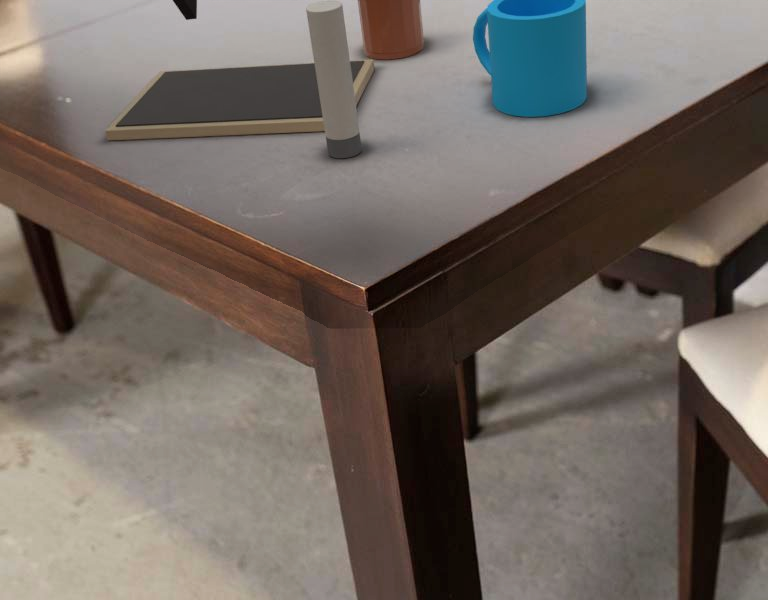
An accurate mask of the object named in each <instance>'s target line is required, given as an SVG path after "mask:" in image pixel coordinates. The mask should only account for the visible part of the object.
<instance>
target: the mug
mask: <svg viewBox="0 0 768 600" xmlns="http://www.w3.org/2000/svg"><path fill="white" fill-rule="evenodd" d="M472 30H473V31H472V42H473V46H474V51H475V54H476V56H477V58H478V60H479V63H480V64H481V66H482V67H483V68H484V70H485V71H486V72H487V74H488V75H489V76H490V81H491V96H492V97H491V98H492V99H491V100H492V105H493V107H494V109H496V110H497V111H499V112H501V113H502V114H505V115H510V116H513V117H514V116H515V117H524V118H540V117H549V116H554V115H560V114H564V113H567V112H569V111H570V112H571V111H572V110H575V109H577V108H579V107H580V106H582V105H583V104H584V103H585V102H586V100H587V99H588V88H587V87H588V79H587V78H588V75H587V73H588V72H587V71H588V69H587V67H588V66H587V65H588V64H587V0H492V1H491V2H489V3H488V4H487V7H486V8H485V9H483V11H482V12H481V13H480V14H479V15H478V16H477V18H476V21H475V23H474V25H473V29H472ZM486 32H487V35H488V44H487V39H486Z"/></svg>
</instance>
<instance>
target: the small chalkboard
mask: <svg viewBox="0 0 768 600" xmlns="http://www.w3.org/2000/svg"><path fill="white" fill-rule="evenodd" d="M350 65H351V73H352V80H353V87H354V95H355V102H356V106H358V103H359V101H360V99H361V97H362V95H363V93H364V91H365V89H366V87H367V85H368V83H369V81H370V79H371V77H372V75H373V74H374V71H375V67H376V66H375V59H374V58H371V59H359V60H358V59H357V60H356V59H355V60H354V59H353V60H350ZM315 132H325V129H324V122H323V116H322V109H321V103H320V96H319V90H318V83H317V77H316V70H315V64H314V62H305V63H303V62H302V63H287V64H267V65H250V66H232V67H215V68H198V69H180V70H179V69H178V70H162V71H160V72H158V73H157V74H156V76H155V77H154V78H153V79H151V80H150V82H149V83H148V84H147V85H146V86H145V88H143V90H142V91H141V92H140V93H138V95H137V96H136V97H135V98H134V99H133V100H132V101H131V102H130V104H129V105H127V107H125V109H124V110H123V111H122V112H121V113H119V115H118V117H116V118H115V120H113V122H112V123H111V124H110V125H108V126H107V128H106V129H105V134H106V138H107V141H128V140H131V141H132V140H151V139H153V140H155V139H173V138H174V139H175V138H177V139H178V138H195V137H196V138H197V137H199V138H200V137H220V136H221V137H223V136H244V135H245V136H246V135H247V136H248V135H265V134H266V135H267V134H268V135H269V134H288V133H289V134H290V133H291V134H293V133H315Z"/></svg>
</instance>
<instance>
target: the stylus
mask: <svg viewBox="0 0 768 600" xmlns="http://www.w3.org/2000/svg"><path fill="white" fill-rule="evenodd" d="M305 13H306V19H307V25H308V31H309V37H310V43H311V50H312V56H313V63H314V64H315V70H316V77H317V83H318V90H319V96H320V103H321V109H322V116H323V122H324V129H325V131H324V133H325V134H324V136H325V141H326V142H325V143H326V147H327V148H326V149H327V154H328V156H329V157H331V158H334V159H350V158H353V157H356V156H358V155H359V154H360V153H361V152H362V150H363V147H362V142H361V141H362V139H361V132H360V124H359V117H358V110H357V105H356V102H355V95H354V87H353V80H352V73H351V65H350V61H351V59H350V52H349V44H348V36H347V29H346V21H345V14H344V13H345V12H344V6H343V3H342V2H341V1H339V0H321V1H316V2H313V3H311V4H309V5H307V6H306V8H305Z"/></svg>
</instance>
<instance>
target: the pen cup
mask: <svg viewBox="0 0 768 600" xmlns="http://www.w3.org/2000/svg"><path fill="white" fill-rule="evenodd" d="M357 6H358V14H359V22H360V31H361V37H362V44H363V45H362V46H363V52H364V54H365V56H366V57H368V58H369V59H370V58H371V59H373V60H385V61H386V60H387V61H388V60H398V59H403V58H407V57H411V56H413V55H415V54H418V53H420V52H421V51H422V50H423V49H424V47H425V44H424V43H425V42H424V40H425V38H424V37H425V36H424V28H423V17H422V16H423V15H422V7H421V0H357Z"/></svg>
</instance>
